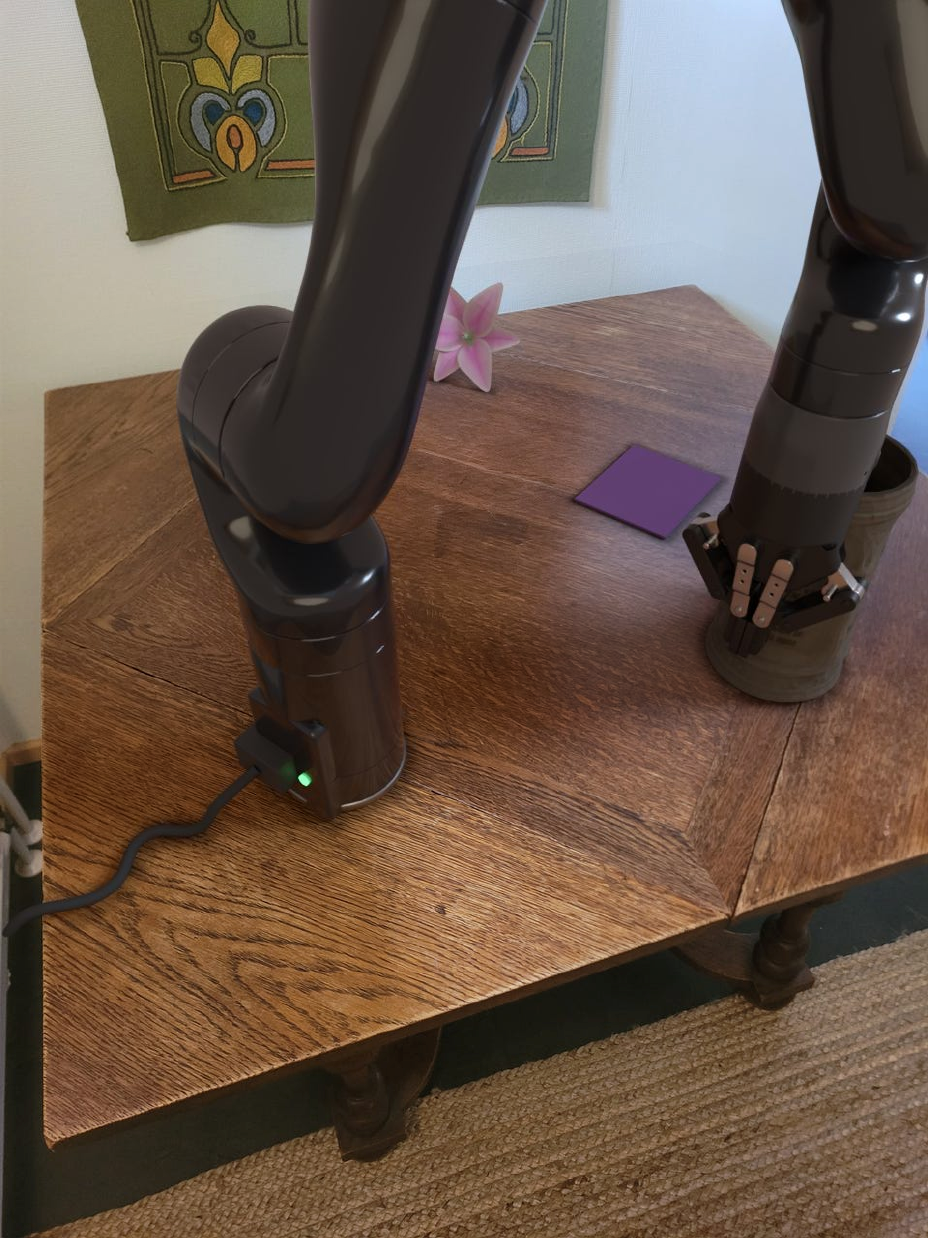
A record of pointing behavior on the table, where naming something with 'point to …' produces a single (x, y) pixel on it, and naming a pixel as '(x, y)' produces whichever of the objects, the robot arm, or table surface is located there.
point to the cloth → (648, 490)
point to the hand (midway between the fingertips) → (742, 648)
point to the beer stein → (817, 651)
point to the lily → (471, 336)
